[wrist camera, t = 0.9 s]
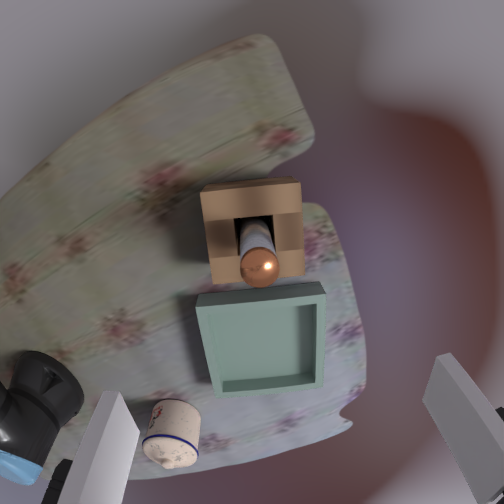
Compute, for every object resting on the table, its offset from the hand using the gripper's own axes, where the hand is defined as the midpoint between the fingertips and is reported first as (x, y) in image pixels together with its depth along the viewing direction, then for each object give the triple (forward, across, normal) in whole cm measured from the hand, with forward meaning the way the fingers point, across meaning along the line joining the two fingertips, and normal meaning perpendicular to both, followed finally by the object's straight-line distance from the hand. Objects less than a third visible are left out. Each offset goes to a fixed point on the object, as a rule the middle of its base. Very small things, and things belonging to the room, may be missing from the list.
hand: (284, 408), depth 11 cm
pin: (+29, 0, 0) cm, 29 cm away
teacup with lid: (+29, -17, -34) cm, 48 cm away
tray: (+29, 0, -17) cm, 33 cm away
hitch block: (+29, 0, 0) cm, 29 cm away
